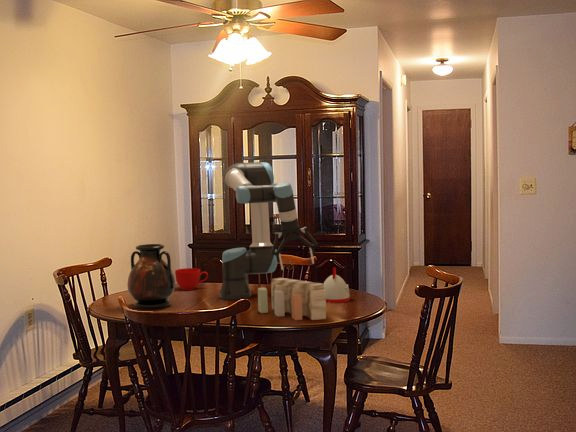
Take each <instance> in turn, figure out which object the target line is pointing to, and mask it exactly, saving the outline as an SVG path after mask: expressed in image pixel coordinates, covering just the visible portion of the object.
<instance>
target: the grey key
mask: <svg viewBox="0 0 576 432" xmlns="http://www.w3.org/2000/svg"><path fill="white" fill-rule="evenodd" d="M274 308H275V311H274V315H275V316H276V317H285V313H286V312H284V292H283V291H281V290H277V291H274Z"/></svg>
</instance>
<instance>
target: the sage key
mask: <svg viewBox="0 0 576 432" xmlns="http://www.w3.org/2000/svg"><path fill="white" fill-rule="evenodd" d="M257 308H258V309H257V310H258V312H259V313H260V314H265V313H269V307H268V289H267V288H266V287H257Z"/></svg>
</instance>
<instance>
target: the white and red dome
mask: <svg viewBox="0 0 576 432" xmlns="http://www.w3.org/2000/svg"><path fill="white" fill-rule="evenodd" d="M323 284H324V290H326V302H327V303H326V304H328V303H329V304H341V303H346V302H347V303H348V302H349V301H350V300H351V296H350V289H349V283H348V284H347V283H346V281H345V280H344V279H343V278H342V277H341V276H340V275H338V274H337V268H336V267H333V268H332V274H331V275H329V276H328V277H327V278H326V279H325V280H324V282H323Z"/></svg>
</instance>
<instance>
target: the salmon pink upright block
mask: <svg viewBox="0 0 576 432" xmlns="http://www.w3.org/2000/svg"><path fill="white" fill-rule="evenodd" d="M291 304H292V315H291V318H292V319H293V320H295V321H302V320H303V316H302V295H301V294H299V293H292V294H291Z"/></svg>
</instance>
